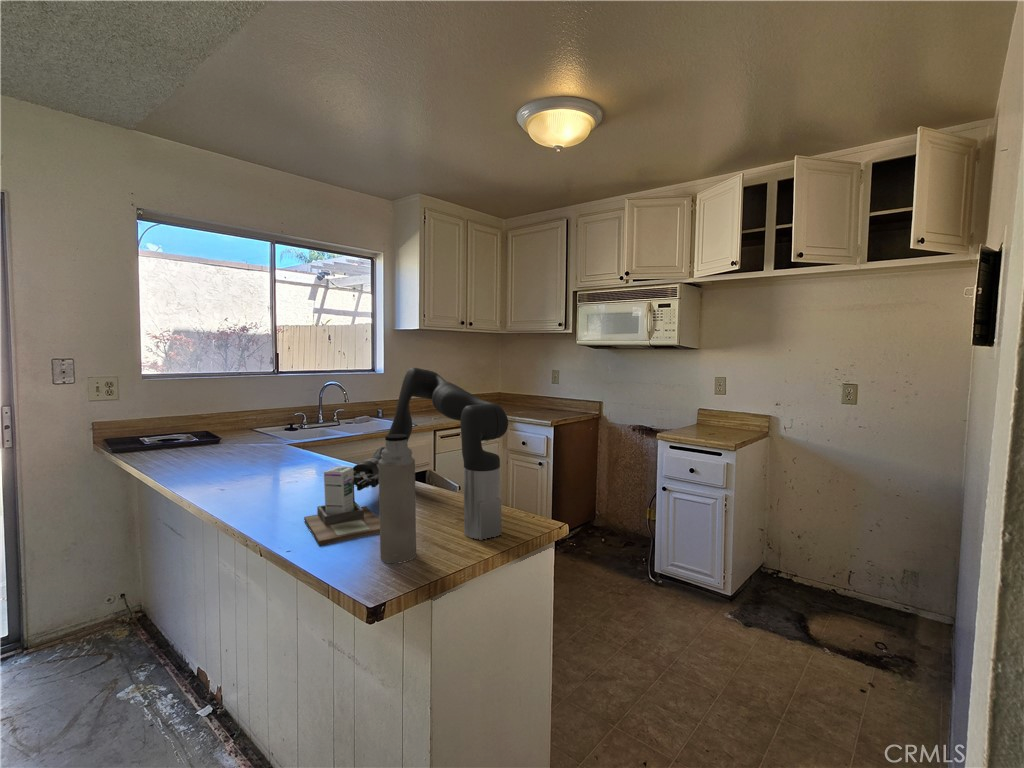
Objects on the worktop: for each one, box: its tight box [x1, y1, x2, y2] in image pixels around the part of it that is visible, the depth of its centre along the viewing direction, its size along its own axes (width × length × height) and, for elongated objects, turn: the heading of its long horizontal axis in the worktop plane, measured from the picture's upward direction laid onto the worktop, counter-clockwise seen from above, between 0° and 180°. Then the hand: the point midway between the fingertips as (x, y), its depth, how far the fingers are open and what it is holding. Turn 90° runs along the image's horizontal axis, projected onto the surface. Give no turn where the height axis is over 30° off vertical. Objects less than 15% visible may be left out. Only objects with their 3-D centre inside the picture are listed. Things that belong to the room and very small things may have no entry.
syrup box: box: [323, 466, 356, 515], centre depth 135 cm, size 6×6×14 cm
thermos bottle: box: [378, 434, 417, 564], centre depth 111 cm, size 8×8×28 cm
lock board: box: [303, 501, 380, 546], centre depth 131 cm, size 20×17×4 cm
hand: (343, 486), depth 137 cm, fingers open, 8 cm apart
